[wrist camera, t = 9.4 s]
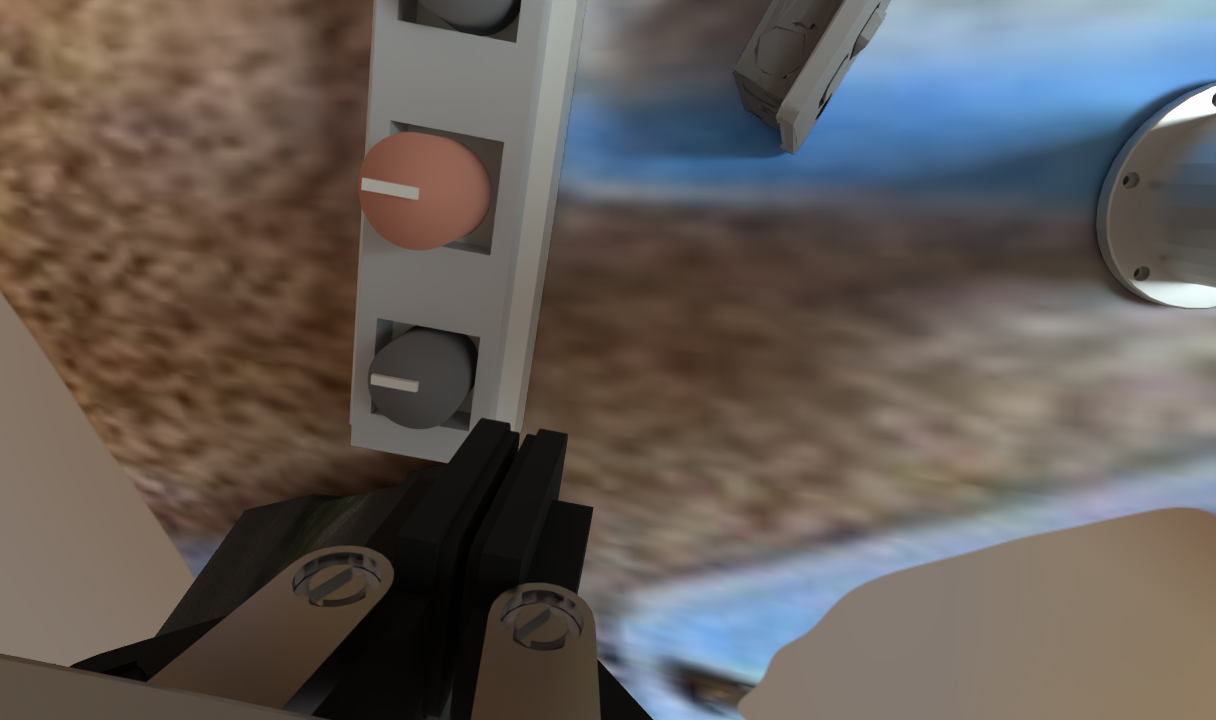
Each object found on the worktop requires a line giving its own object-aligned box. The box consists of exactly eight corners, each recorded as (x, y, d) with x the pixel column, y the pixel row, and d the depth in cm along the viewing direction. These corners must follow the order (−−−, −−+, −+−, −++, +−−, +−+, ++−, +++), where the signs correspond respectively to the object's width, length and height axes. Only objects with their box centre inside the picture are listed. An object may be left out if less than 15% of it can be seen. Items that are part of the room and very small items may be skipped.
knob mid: (497, 147, 30) (475, 143, 26) (485, 248, 31) (462, 260, 27) (396, 127, 30) (357, 121, 26) (388, 230, 31) (351, 240, 27)
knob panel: (599, -87, 32) (591, -147, 26) (522, 427, 41) (502, 473, 35) (412, -123, 32) (359, -193, 26) (375, 400, 41) (329, 441, 35)
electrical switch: (791, 158, 36) (826, 144, 27) (715, 112, 36) (724, 83, 27) (890, -1, 33) (965, -76, 24) (808, -51, 33) (853, -144, 24)
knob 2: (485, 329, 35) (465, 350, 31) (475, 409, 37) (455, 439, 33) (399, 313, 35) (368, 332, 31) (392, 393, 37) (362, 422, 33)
